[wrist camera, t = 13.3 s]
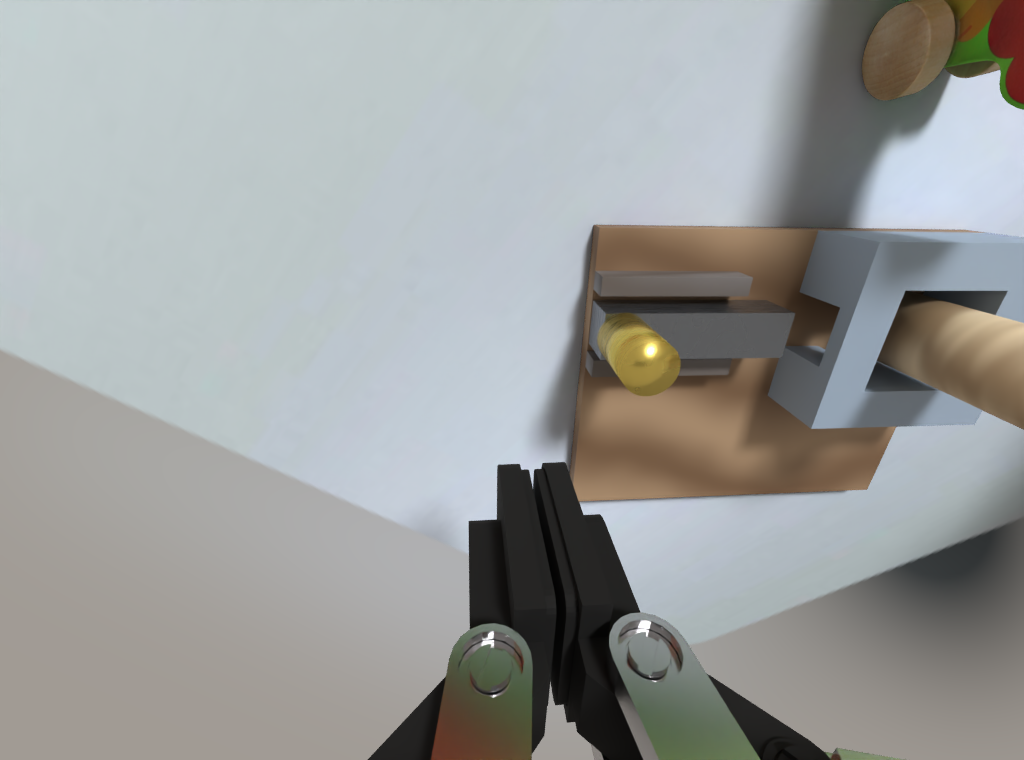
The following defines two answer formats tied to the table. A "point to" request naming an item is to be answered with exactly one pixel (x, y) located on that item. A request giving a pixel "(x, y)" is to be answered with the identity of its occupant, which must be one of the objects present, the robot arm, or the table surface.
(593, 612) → the robot arm
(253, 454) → the table surface
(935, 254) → the socket block
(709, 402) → the dock board
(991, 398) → the peg
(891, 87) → the toy lion
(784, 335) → the pin
